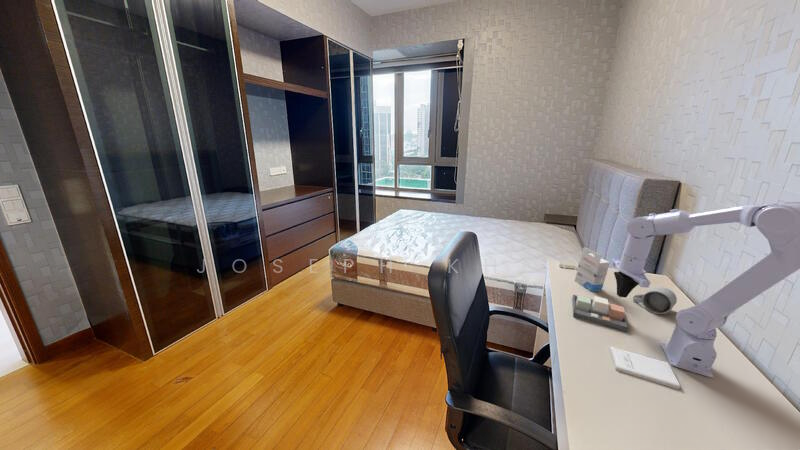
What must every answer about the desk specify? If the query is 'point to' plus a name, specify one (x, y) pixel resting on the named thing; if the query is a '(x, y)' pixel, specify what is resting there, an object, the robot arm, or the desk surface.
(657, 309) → the ceramic mug
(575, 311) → the keypad
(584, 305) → the key sage
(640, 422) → the desk surface
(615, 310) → the key terracotta
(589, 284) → the ink box
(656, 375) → the external hard drive
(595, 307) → the key cream
